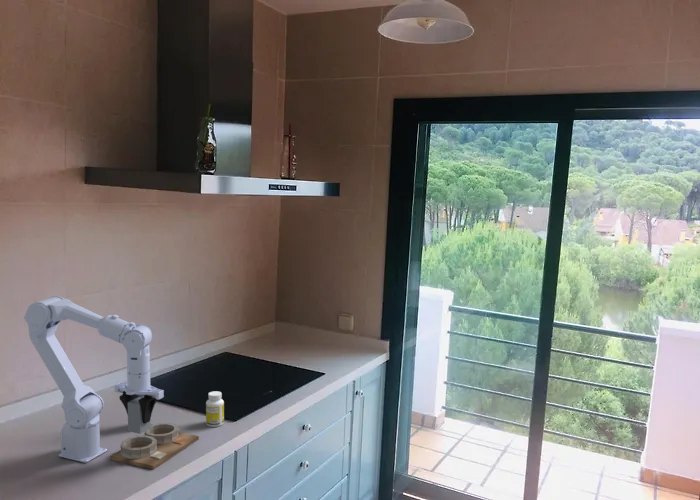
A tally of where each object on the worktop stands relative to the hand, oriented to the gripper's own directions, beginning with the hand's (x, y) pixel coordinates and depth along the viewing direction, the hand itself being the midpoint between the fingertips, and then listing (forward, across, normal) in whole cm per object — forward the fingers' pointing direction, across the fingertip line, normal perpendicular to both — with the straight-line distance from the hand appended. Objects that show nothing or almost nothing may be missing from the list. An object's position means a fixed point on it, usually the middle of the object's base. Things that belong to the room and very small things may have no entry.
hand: (139, 420), depth 156 cm
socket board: (+10, 0, +6) cm, 12 cm away
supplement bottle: (+11, +5, +28) cm, 30 cm away
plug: (+2, 0, 0) cm, 3 cm away
